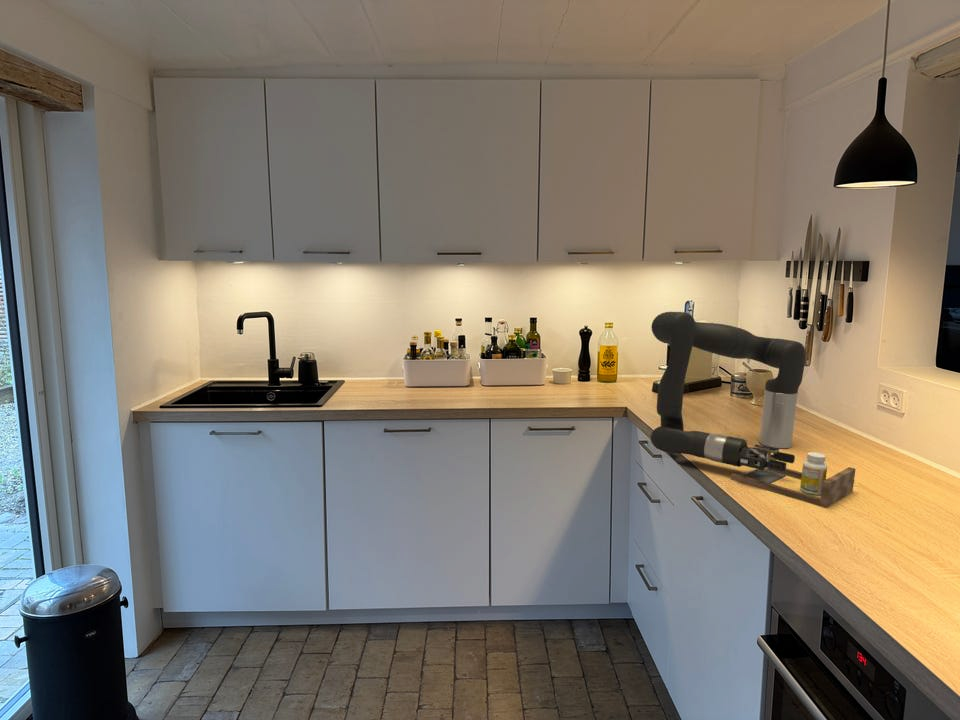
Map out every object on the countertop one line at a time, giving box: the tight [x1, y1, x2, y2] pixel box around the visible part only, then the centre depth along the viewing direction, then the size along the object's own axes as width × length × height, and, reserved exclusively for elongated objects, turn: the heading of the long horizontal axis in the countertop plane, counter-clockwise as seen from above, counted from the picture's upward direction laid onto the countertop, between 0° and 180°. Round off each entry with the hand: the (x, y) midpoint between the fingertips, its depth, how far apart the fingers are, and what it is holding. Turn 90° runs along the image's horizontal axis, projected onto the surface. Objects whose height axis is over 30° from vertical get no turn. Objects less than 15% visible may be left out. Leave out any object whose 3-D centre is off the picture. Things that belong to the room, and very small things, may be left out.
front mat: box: [742, 469, 787, 484], centre depth 165 cm, size 12×7×1 cm, turn 131°
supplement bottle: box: [799, 451, 828, 496], centre depth 155 cm, size 5×5×10 cm
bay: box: [730, 467, 857, 508], centre depth 159 cm, size 17×24×6 cm
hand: (790, 463), depth 158 cm, fingers open, 8 cm apart
